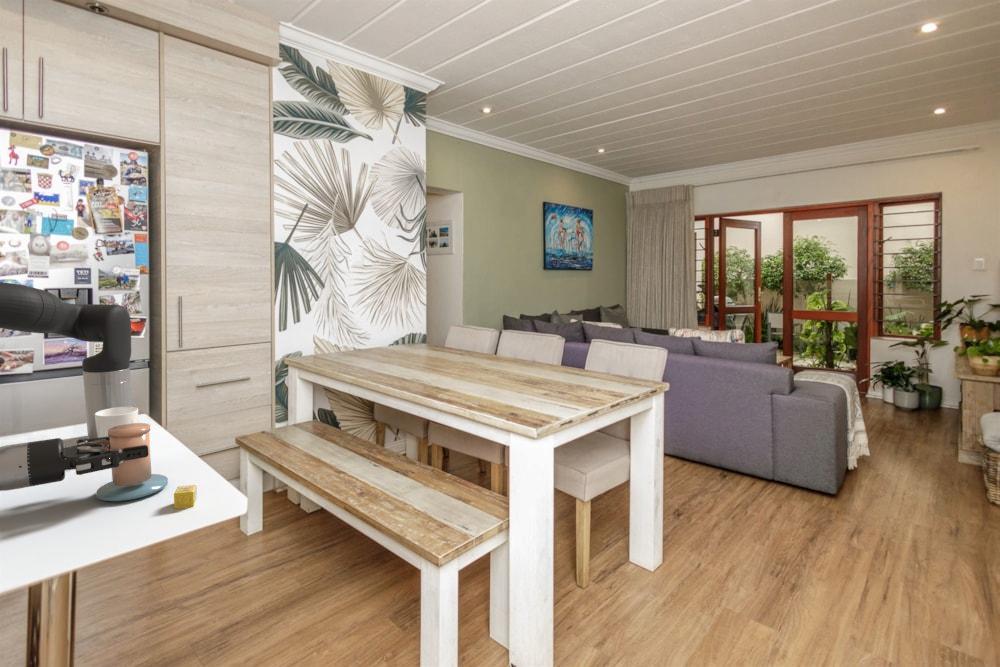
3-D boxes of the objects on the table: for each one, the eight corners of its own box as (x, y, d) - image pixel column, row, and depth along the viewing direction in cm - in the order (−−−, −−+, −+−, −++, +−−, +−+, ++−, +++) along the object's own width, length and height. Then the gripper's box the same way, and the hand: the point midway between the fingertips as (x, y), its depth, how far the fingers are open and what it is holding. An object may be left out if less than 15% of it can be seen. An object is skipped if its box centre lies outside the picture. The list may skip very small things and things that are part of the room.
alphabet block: (197, 499, 94) (196, 484, 93) (194, 507, 91) (193, 490, 90) (178, 502, 93) (177, 486, 92) (174, 509, 90) (173, 493, 89)
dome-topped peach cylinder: (110, 477, 97) (107, 426, 96) (151, 470, 101) (148, 421, 100) (111, 488, 92) (108, 435, 91) (154, 480, 96) (151, 429, 95)
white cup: (118, 461, 111) (114, 417, 110) (88, 458, 113) (85, 414, 112) (149, 449, 119) (146, 407, 118) (121, 446, 120) (118, 405, 119)
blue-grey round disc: (96, 488, 97) (95, 482, 97) (164, 475, 104) (164, 469, 104) (97, 509, 89) (96, 503, 89) (171, 493, 96) (171, 487, 96)
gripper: (21, 455, 81) (149, 436, 91) (29, 432, 92) (142, 417, 102) (25, 500, 81) (151, 476, 92) (32, 472, 92) (144, 453, 103)
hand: (146, 445), depth 97 cm, fingers closed on dome-topped peach cylinder, 6 cm apart
